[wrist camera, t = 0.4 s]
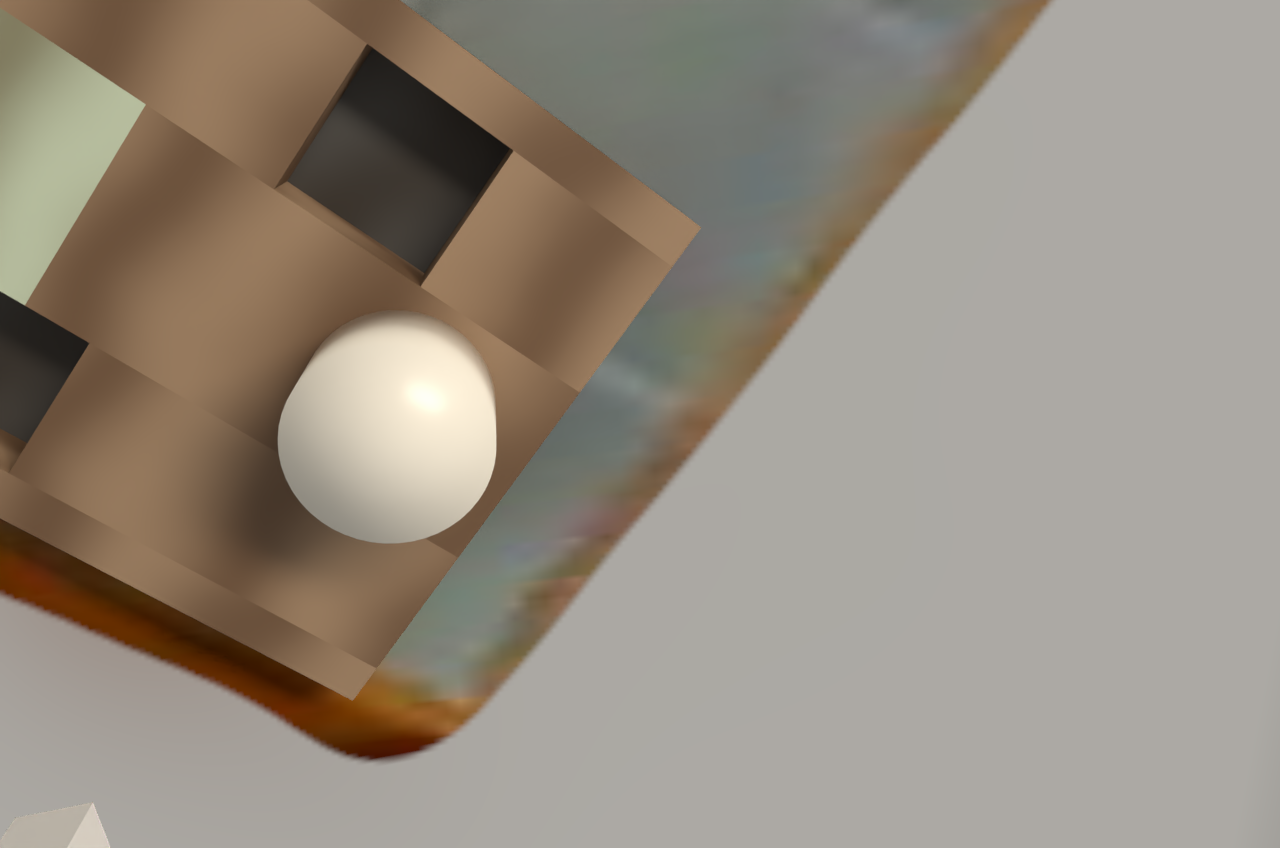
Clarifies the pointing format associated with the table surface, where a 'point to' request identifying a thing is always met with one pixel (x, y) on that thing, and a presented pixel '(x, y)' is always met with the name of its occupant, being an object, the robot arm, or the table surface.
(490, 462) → the white rounded block
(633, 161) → the table surface
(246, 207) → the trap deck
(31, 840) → the robot arm
